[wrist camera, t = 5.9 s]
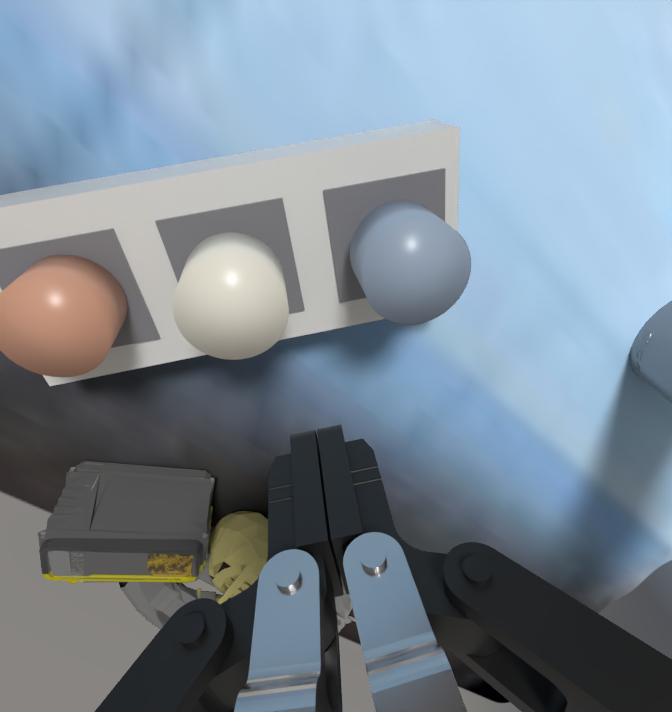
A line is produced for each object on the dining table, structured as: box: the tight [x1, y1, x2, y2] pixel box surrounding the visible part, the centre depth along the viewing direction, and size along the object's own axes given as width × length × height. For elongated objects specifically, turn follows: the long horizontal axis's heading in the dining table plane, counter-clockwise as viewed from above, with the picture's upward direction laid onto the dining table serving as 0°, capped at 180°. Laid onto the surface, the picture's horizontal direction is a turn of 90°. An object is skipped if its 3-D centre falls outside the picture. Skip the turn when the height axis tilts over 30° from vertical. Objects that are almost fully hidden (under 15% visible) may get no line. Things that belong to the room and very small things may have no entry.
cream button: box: [173, 232, 289, 360], centre depth 21 cm, size 5×5×4 cm
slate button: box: [350, 200, 471, 325], centre depth 21 cm, size 5×5×4 cm
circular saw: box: [38, 461, 356, 632], centre depth 37 cm, size 10×30×25 cm
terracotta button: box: [0, 255, 128, 377], centre depth 21 cm, size 5×5×4 cm
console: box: [0, 119, 460, 386], centre depth 25 cm, size 25×10×4 cm, turn 98°
